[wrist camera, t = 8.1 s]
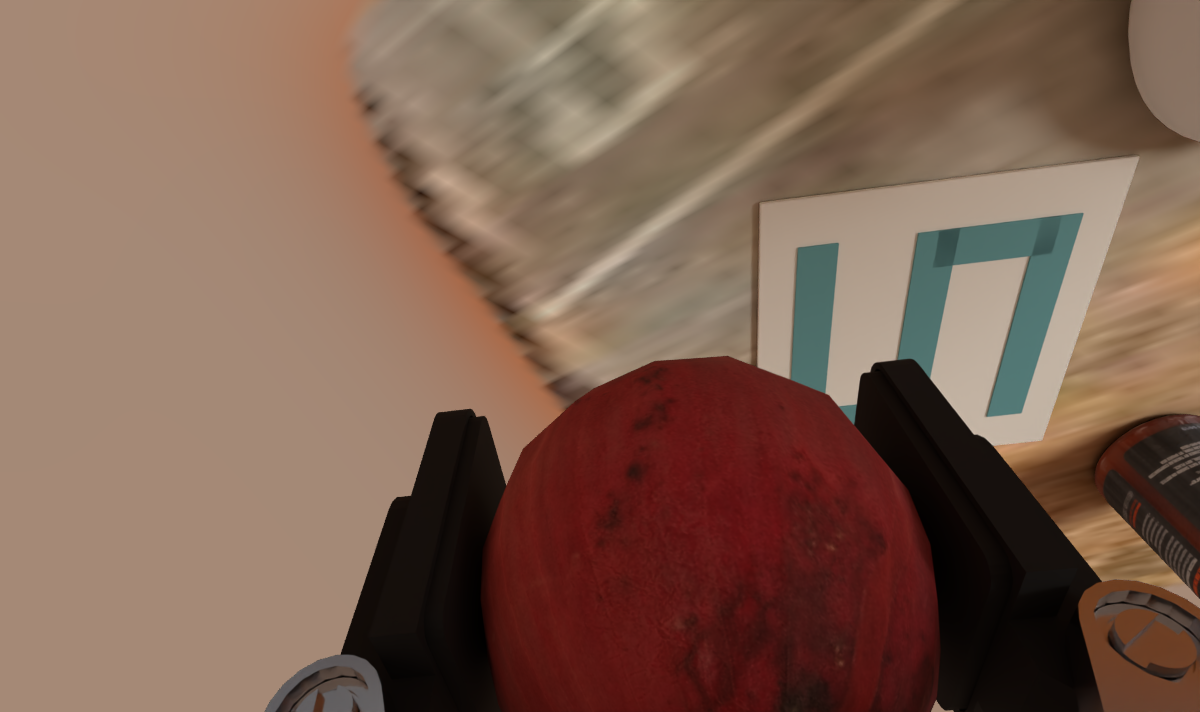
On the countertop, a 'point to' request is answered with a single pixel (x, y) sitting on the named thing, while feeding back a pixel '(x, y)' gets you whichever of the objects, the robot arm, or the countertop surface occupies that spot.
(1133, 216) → the countertop surface
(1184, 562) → the supplement bottle
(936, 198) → the letter board
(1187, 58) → the flower in vase
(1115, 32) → the countertop surface
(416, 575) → the robot arm
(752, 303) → the countertop surface
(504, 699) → the onion
